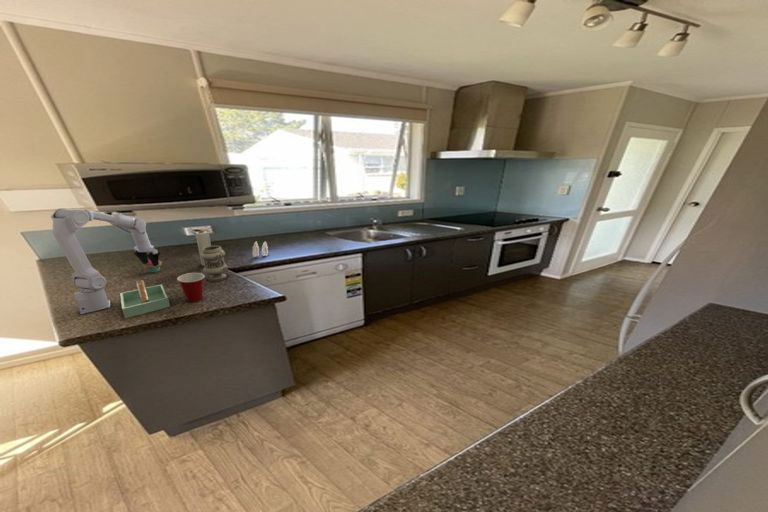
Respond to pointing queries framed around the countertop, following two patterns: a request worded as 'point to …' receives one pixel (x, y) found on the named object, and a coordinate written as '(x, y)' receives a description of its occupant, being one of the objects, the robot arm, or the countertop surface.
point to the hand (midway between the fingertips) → (151, 264)
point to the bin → (134, 306)
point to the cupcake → (151, 267)
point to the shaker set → (256, 249)
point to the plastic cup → (192, 285)
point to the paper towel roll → (202, 242)
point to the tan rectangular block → (142, 291)
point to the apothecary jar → (214, 263)
